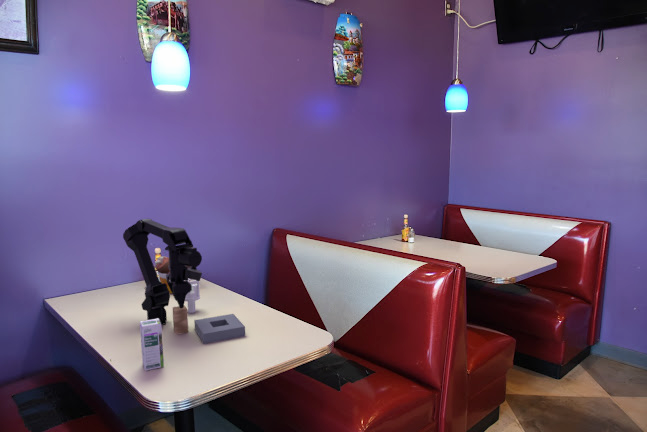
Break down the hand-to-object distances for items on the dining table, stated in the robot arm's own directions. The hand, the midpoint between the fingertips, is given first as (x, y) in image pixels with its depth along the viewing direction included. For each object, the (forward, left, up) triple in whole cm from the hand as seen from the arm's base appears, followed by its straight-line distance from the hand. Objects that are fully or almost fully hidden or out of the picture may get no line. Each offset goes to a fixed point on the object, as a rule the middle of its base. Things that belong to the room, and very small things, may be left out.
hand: (179, 304), depth 177 cm
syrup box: (-13, -25, -11) cm, 30 cm away
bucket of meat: (+8, +53, -11) cm, 55 cm away
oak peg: (0, 0, -11) cm, 11 cm away
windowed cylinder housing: (+8, +20, -11) cm, 24 cm away
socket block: (+13, -8, -11) cm, 18 cm away
